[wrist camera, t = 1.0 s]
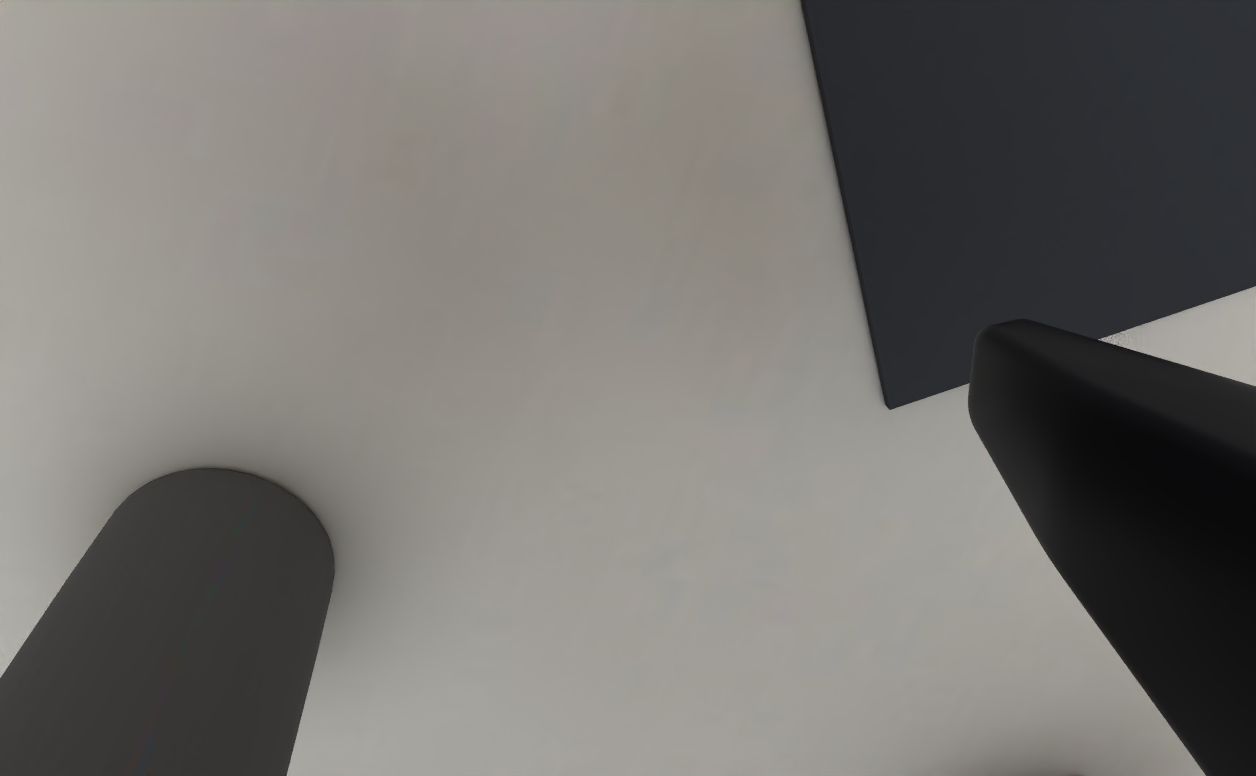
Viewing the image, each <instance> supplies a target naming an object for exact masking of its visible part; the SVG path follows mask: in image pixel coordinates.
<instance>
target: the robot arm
mask: <svg viewBox="0 0 1256 776" xmlns="http://www.w3.org/2000/svg"><path fill="white" fill-rule="evenodd" d="M968 408H969V414H970V418H971V421H972V424H973V426H974V428H975V430H976V432H977V433H978V435H979V437H980V439H981V441H982V442H983V444H984V446H985V448H986V449H987V451H988V453H989V455H990V456H991V458H992V460H993V462H994V463H995V465H996V467H997V469H998V471H999V472H1000V474H1001V476H1002V478H1003V479H1004V481H1005V483H1006V485H1007V486H1008V488H1009V490H1010V492H1011V493H1012V495H1013V497H1014V499H1015V501H1016V502H1017V504H1018V506H1019V508H1020V509H1021V511H1022V513H1023V515H1024V516H1025V518H1026V520H1027V522H1028V523H1029V525H1030V527H1031V529H1032V531H1033V532H1034V534H1035V536H1036V537H1037V539H1038V541H1039V542H1040V544H1041V546H1042V547H1043V549H1044V551H1045V552H1046V554H1047V555H1048V557H1049V559H1050V560H1051V561H1052V563H1053V564H1054V566H1055V567H1056V569H1057V570H1058V572H1059V573H1060V574H1061V576H1062V577H1063V579H1064V580H1065V582H1066V583H1067V584H1068V586H1069V587H1070V588H1071V590H1072V591H1073V593H1074V594H1075V595H1076V597H1077V598H1078V600H1079V601H1080V602H1081V604H1082V605H1083V606H1084V608H1085V609H1086V611H1087V612H1088V613H1089V615H1090V616H1091V617H1092V619H1093V620H1094V622H1095V623H1096V624H1097V626H1098V627H1099V628H1100V630H1101V631H1102V633H1103V634H1104V635H1105V637H1106V638H1107V639H1108V641H1109V642H1110V644H1111V645H1112V646H1113V648H1114V649H1115V651H1116V652H1117V653H1118V655H1119V656H1120V657H1121V659H1122V660H1123V662H1124V663H1125V664H1126V666H1127V667H1128V668H1129V670H1130V671H1131V673H1132V674H1133V675H1134V677H1135V678H1136V679H1137V681H1138V682H1139V684H1140V685H1141V686H1142V688H1143V689H1144V690H1145V692H1146V693H1147V695H1148V696H1149V697H1150V699H1151V700H1152V702H1153V703H1154V704H1155V706H1156V707H1157V708H1158V710H1159V711H1160V713H1161V714H1162V715H1163V717H1164V718H1165V719H1166V721H1167V722H1168V724H1169V725H1170V726H1171V728H1172V729H1173V730H1174V732H1175V733H1176V735H1177V736H1178V737H1179V739H1180V740H1181V741H1182V743H1183V744H1184V746H1185V747H1186V748H1187V750H1188V751H1189V752H1190V754H1191V755H1192V757H1193V758H1194V759H1195V761H1196V762H1197V764H1198V765H1199V766H1200V768H1201V769H1202V770H1203V772H1204V773H1205V775H1206V776H1256V386H1252V385H1249V384H1245V383H1242V382H1239V381H1235V380H1232V379H1229V378H1225V377H1222V376H1218V375H1215V374H1212V373H1208V372H1205V371H1201V370H1198V369H1195V368H1191V367H1188V366H1185V365H1181V364H1178V363H1174V362H1171V361H1168V360H1164V359H1161V358H1157V357H1154V356H1151V355H1147V354H1144V353H1141V352H1137V351H1134V350H1130V349H1127V348H1124V347H1120V346H1117V345H1113V344H1110V343H1107V342H1103V341H1100V340H1097V339H1093V338H1090V337H1086V336H1083V335H1080V334H1076V333H1073V332H1069V331H1066V330H1063V329H1059V328H1056V327H1052V326H1049V325H1046V324H1042V323H1039V322H1036V321H1032V320H1028V319H1016V320H1011V321H1007V322H1003V323H999V324H994V325H990V326H986V327H984V328H983V329H981V330H980V331H979V332H978V334H977V336H976V338H975V341H974V347H973V356H972V366H971V376H970V385H969V395H968Z"/></svg>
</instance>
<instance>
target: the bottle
mask: <svg viewBox="0 0 1256 776" xmlns="http://www.w3.org/2000/svg"><path fill="white" fill-rule="evenodd" d="M333 579H334V559H333V552H332V549H331V545H330V542H329V540H328V537H327V535H326V533H325V531H324V529H323V527H322V525H321V524H320V522H319V521H318V520H317V518H316V517H315V515H314V514H313V513H312V512H311V511H310V510H309V509H308V508H307V507H306V506H305V505H304V504H302V503H301V502H300V501H299V500H298V499H297V498H296V497H295V496H293V495H292V494H290V493H288V492H287V491H285V490H284V489H282V488H280V487H279V486H277V485H275V484H273V483H270V482H268V481H265V480H263V479H260V478H258V477H255V476H253V475H249V474H245V473H240V472H235V471H231V470H216V469H200V470H190V471H184V472H179V473H174V474H170V475H167V476H165V477H162V478H159V479H157V480H155V481H152V482H150V483H148V484H146V485H145V486H143V487H142V488H140V489H138V490H137V491H136V492H134V493H133V494H132V495H131V496H129V497H128V498H127V499H126V500H125V501H124V502H123V503H122V504H121V505H120V506H119V507H118V508H117V509H116V510H115V512H114V513H113V515H112V516H111V517H110V519H109V520H108V522H107V523H106V525H105V526H104V527H103V529H102V530H101V532H100V533H99V535H98V536H97V537H96V539H95V540H94V542H93V543H92V544H91V546H90V547H89V549H88V550H87V552H86V553H85V554H84V556H83V557H82V559H81V560H80V562H79V563H78V564H77V566H76V567H75V569H74V570H73V572H72V573H71V574H70V576H69V577H68V579H67V580H66V582H65V583H64V585H63V586H62V588H61V589H60V591H59V592H58V594H57V595H56V596H55V598H54V599H53V601H52V602H51V604H50V605H49V607H48V608H47V610H46V611H45V613H44V614H43V616H42V617H41V619H40V620H39V622H38V623H37V625H36V626H35V628H34V629H33V631H32V632H31V634H30V635H29V637H28V638H27V639H26V641H25V642H24V644H23V645H22V647H21V648H20V650H19V651H18V653H17V654H16V656H15V657H14V659H13V660H12V662H11V663H10V665H9V666H8V668H7V669H6V671H5V672H4V674H3V675H2V677H1V678H0V776H286V775H287V771H288V767H289V763H290V759H291V755H292V751H293V747H294V743H295V740H296V736H297V732H298V728H299V724H300V720H301V716H302V712H303V708H304V704H305V700H306V696H307V692H308V688H309V684H310V680H311V676H312V672H313V668H314V664H315V660H316V656H317V652H318V647H319V643H320V639H321V635H322V631H323V626H324V622H325V618H326V614H327V610H328V605H329V601H330V597H331V592H332V586H333Z"/></svg>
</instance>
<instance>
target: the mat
mask: <svg viewBox="0 0 1256 776" xmlns="http://www.w3.org/2000/svg"><path fill="white" fill-rule="evenodd" d="M801 3H802V8H803V13H804V17H805V22H806V27H807V32H808V37H809V41H810V46H811V51H812V56H813V60H814V65H815V70H816V75H817V80H818V84H819V89H820V94H821V99H822V103H823V108H824V113H825V118H826V123H827V127H828V132H829V137H830V142H831V146H832V151H833V156H834V161H835V166H836V170H837V175H838V180H839V185H840V189H841V194H842V199H843V204H844V209H845V213H846V218H847V223H848V228H849V233H850V237H851V242H852V247H853V252H854V256H855V261H856V266H857V271H858V276H859V280H860V285H861V290H862V295H863V299H864V304H865V309H866V314H867V319H868V323H869V328H870V333H871V338H872V342H873V347H874V352H875V357H876V362H877V366H878V371H879V376H880V381H881V385H882V390H883V395H884V400H885V405H886V406H887V407H888V409H889V410H891V409H894V408H897V407H900V406H903V405H906V404H909V403H912V402H915V401H918V400H921V399H924V398H926V397H929V396H932V395H935V394H938V393H941V392H944V391H947V390H950V389H953V388H956V387H959V386H962V385H965V384H968V383H970V376H971V366H972V356H973V347H974V341H975V338H976V336H977V334H978V332H979V331H980V330H981V329H983V328H984V327H986V326H990V325H994V324H999V323H1003V322H1007V321H1011V320H1016V319H1028V320H1032V321H1036V322H1039V323H1042V324H1046V325H1049V326H1052V327H1056V328H1059V329H1063V330H1066V331H1069V332H1073V333H1076V334H1080V335H1083V336H1086V337H1090V338H1093V339H1097V340H1098V339H1101V338H1104V337H1107V336H1110V335H1113V334H1116V333H1119V332H1122V331H1124V330H1127V329H1130V328H1133V327H1136V326H1139V325H1142V324H1145V323H1148V322H1151V321H1154V320H1157V319H1160V318H1163V317H1166V316H1169V315H1172V314H1175V313H1178V312H1181V311H1184V310H1187V309H1189V308H1192V307H1195V306H1198V305H1201V304H1204V303H1207V302H1210V301H1213V300H1216V299H1219V298H1222V297H1225V296H1228V295H1231V294H1234V293H1237V292H1240V291H1243V290H1246V289H1249V288H1252V287H1254V286H1256V0H801Z"/></svg>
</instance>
